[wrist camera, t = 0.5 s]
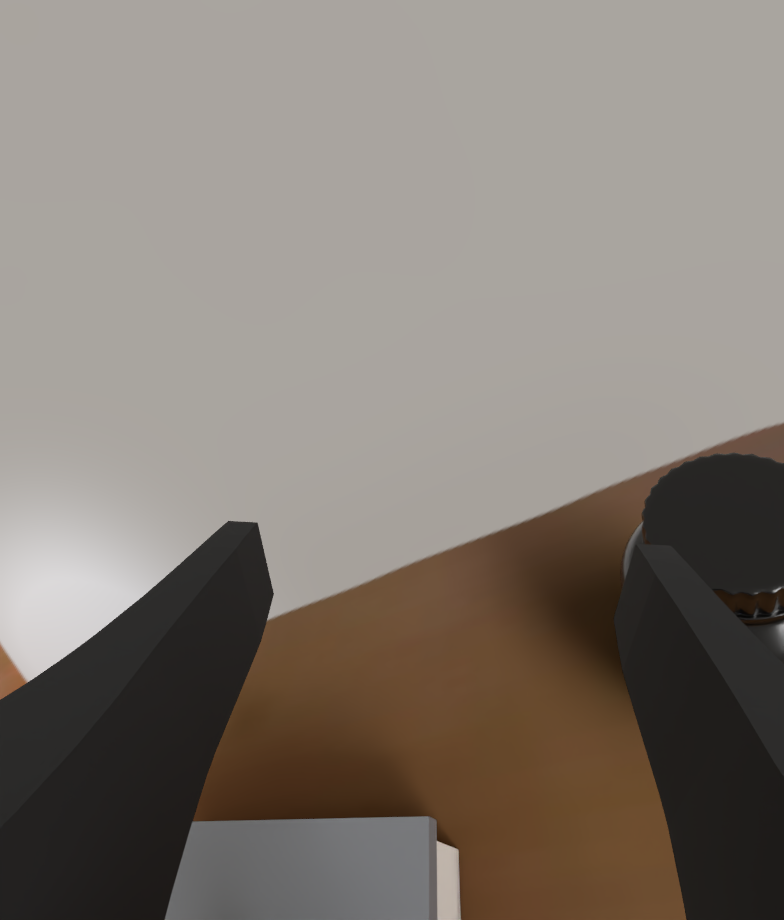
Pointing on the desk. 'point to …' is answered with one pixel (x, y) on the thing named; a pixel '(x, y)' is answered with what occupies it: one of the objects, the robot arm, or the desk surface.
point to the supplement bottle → (725, 534)
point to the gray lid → (308, 870)
